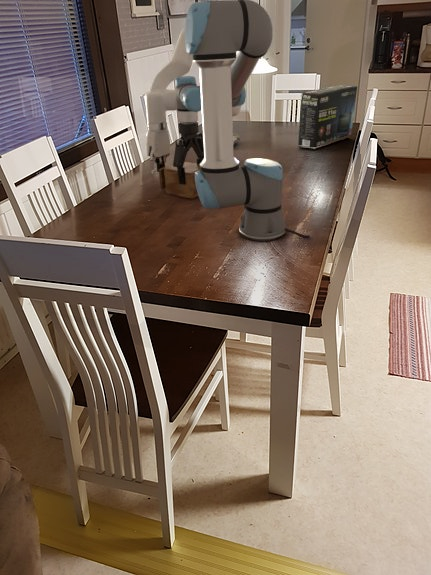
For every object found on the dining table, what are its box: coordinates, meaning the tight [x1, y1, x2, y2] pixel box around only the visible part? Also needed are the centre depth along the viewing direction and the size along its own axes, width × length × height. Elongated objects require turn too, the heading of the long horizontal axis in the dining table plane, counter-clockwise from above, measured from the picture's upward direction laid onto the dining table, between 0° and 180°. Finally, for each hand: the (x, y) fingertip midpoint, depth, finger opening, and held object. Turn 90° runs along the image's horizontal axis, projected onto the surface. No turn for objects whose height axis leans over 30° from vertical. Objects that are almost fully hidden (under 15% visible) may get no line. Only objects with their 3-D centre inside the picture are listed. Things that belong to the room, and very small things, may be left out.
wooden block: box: [164, 161, 200, 200], centre depth 183 cm, size 13×11×10 cm
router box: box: [297, 84, 358, 151], centre depth 238 cm, size 36×11×27 cm, turn 134°
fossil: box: [233, 132, 241, 146], centre depth 248 cm, size 18×11×15 cm
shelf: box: [150, 163, 173, 190], centre depth 187 cm, size 18×10×8 cm, turn 55°
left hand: (161, 172), depth 189 cm, fingers closed
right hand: (191, 179), depth 182 cm, fingers closed on wooden block, 11 cm apart
